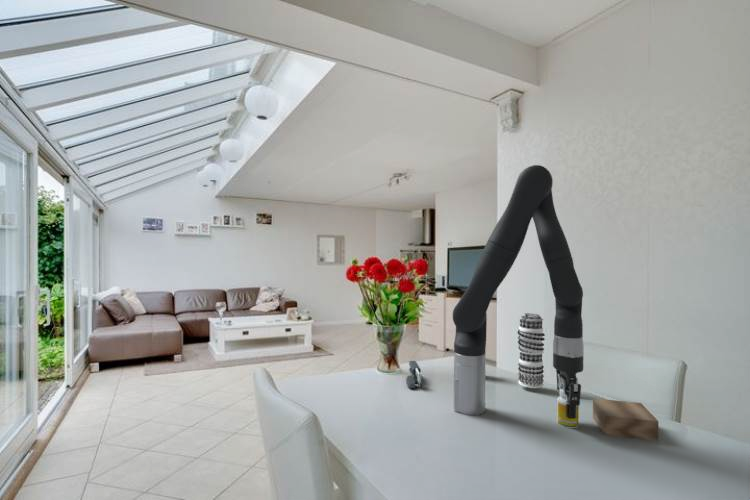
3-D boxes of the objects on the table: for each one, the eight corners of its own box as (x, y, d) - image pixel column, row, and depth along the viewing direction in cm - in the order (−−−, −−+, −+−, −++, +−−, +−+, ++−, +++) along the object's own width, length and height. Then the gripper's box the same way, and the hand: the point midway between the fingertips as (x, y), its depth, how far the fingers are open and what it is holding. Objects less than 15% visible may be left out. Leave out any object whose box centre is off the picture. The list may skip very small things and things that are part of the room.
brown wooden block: (604, 438, 102) (604, 415, 102) (592, 419, 114) (593, 398, 114) (658, 445, 99) (658, 421, 99) (640, 424, 111) (640, 402, 111)
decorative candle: (516, 386, 139) (516, 315, 139) (517, 378, 148) (517, 311, 148) (544, 390, 136) (545, 317, 136) (544, 381, 145) (544, 313, 144)
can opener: (425, 389, 138) (424, 374, 138) (406, 389, 138) (406, 374, 138) (419, 371, 157) (419, 358, 157) (403, 371, 157) (403, 358, 157)
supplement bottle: (554, 420, 112) (554, 386, 112) (574, 422, 111) (575, 388, 111) (559, 429, 107) (560, 393, 107) (581, 431, 106) (581, 395, 106)
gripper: (546, 344, 116) (546, 402, 117) (561, 358, 102) (560, 423, 102) (574, 346, 115) (573, 404, 115) (592, 360, 101) (591, 426, 101)
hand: (567, 413), depth 109 cm, fingers closed on supplement bottle, 5 cm apart
